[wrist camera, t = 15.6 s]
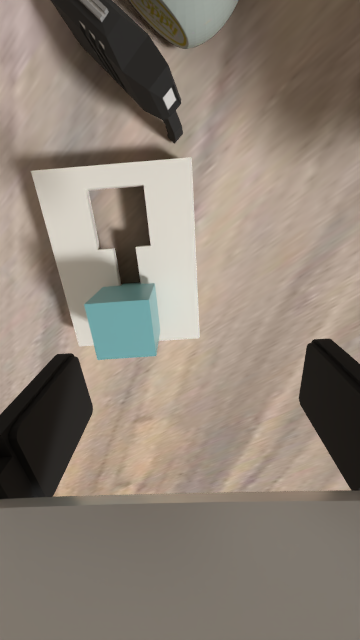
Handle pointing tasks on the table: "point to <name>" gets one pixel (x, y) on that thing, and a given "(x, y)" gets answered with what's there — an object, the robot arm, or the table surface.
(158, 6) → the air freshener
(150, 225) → the keyhole deck
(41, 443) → the robot arm
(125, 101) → the table surface
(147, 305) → the slider
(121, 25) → the black striped sneaker
